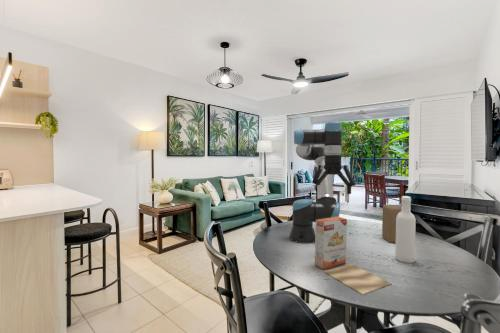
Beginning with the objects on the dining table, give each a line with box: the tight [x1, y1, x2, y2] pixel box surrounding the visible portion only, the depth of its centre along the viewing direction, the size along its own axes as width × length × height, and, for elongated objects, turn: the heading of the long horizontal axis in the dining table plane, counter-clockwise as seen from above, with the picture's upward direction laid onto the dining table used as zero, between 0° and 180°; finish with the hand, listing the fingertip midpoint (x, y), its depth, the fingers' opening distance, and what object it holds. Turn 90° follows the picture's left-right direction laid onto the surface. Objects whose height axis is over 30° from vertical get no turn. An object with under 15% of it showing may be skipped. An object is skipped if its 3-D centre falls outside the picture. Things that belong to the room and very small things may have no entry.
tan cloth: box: [323, 263, 393, 296], centre depth 99 cm, size 19×16×1 cm
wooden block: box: [381, 204, 402, 244], centre depth 142 cm, size 10×10×20 cm
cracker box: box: [314, 216, 348, 270], centre depth 111 cm, size 14×6×21 cm, turn 117°
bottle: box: [394, 195, 417, 264], centre depth 115 cm, size 8×8×30 cm
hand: (332, 199), depth 116 cm, fingers open, 13 cm apart
